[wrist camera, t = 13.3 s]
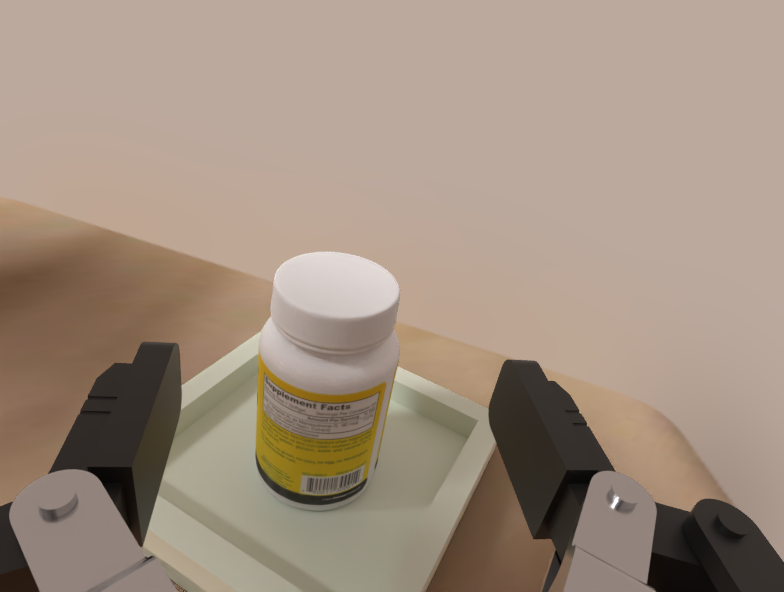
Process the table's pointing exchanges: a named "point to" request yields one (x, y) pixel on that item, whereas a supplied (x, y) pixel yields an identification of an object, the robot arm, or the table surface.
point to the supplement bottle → (325, 378)
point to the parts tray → (307, 527)
